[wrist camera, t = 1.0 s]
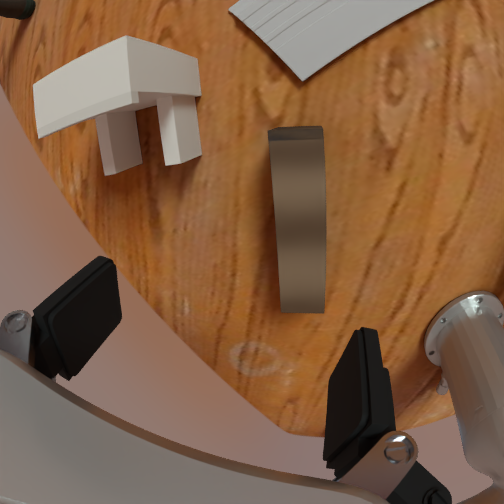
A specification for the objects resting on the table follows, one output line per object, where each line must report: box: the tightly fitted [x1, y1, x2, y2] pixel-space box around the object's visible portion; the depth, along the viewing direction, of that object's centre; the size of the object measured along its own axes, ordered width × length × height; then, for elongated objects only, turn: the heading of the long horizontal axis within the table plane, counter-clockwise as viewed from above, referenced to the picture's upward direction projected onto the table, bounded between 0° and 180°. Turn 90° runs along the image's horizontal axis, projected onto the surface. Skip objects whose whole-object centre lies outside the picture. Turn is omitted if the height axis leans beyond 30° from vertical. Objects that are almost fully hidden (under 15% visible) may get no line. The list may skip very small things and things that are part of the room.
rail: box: [268, 126, 326, 313], centre depth 26 cm, size 16×4×6 cm, turn 6°
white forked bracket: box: [33, 35, 202, 176], centre depth 22 cm, size 10×10×12 cm
